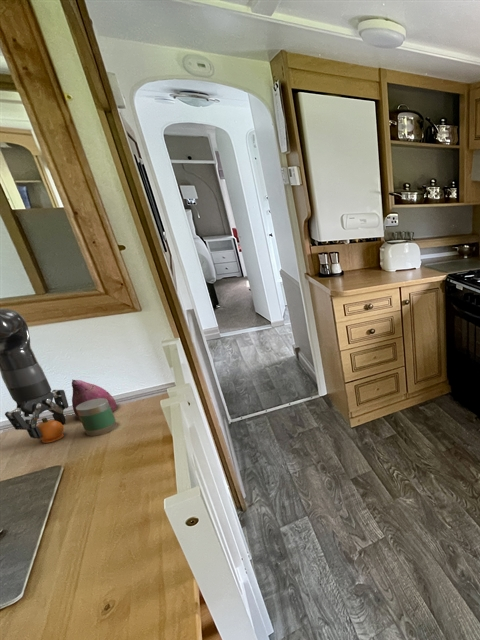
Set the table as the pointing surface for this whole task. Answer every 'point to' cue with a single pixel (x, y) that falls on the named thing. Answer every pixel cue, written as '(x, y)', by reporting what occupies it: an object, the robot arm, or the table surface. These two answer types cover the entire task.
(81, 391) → the vegetable
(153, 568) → the table surface
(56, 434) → the pumpkin
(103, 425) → the tin
